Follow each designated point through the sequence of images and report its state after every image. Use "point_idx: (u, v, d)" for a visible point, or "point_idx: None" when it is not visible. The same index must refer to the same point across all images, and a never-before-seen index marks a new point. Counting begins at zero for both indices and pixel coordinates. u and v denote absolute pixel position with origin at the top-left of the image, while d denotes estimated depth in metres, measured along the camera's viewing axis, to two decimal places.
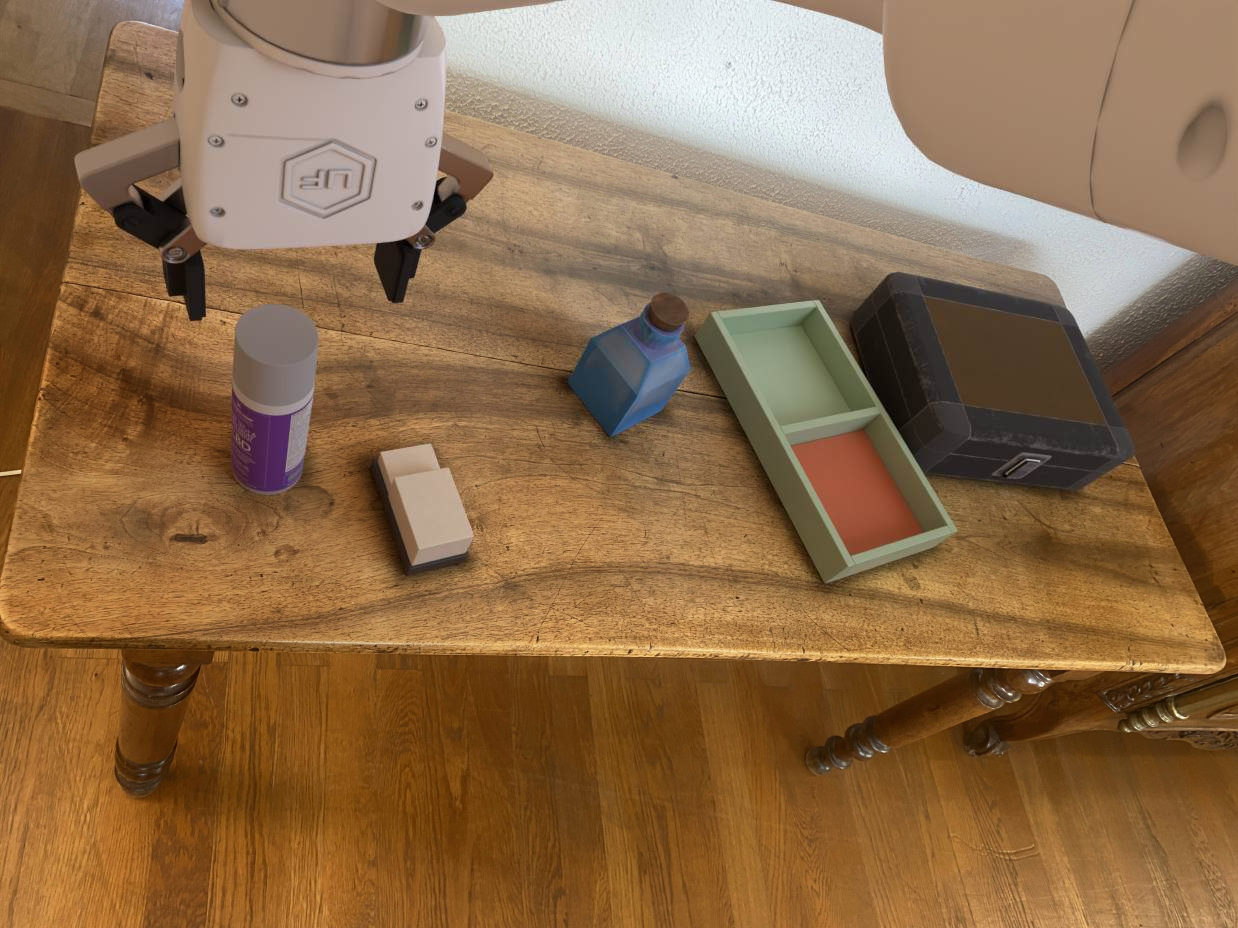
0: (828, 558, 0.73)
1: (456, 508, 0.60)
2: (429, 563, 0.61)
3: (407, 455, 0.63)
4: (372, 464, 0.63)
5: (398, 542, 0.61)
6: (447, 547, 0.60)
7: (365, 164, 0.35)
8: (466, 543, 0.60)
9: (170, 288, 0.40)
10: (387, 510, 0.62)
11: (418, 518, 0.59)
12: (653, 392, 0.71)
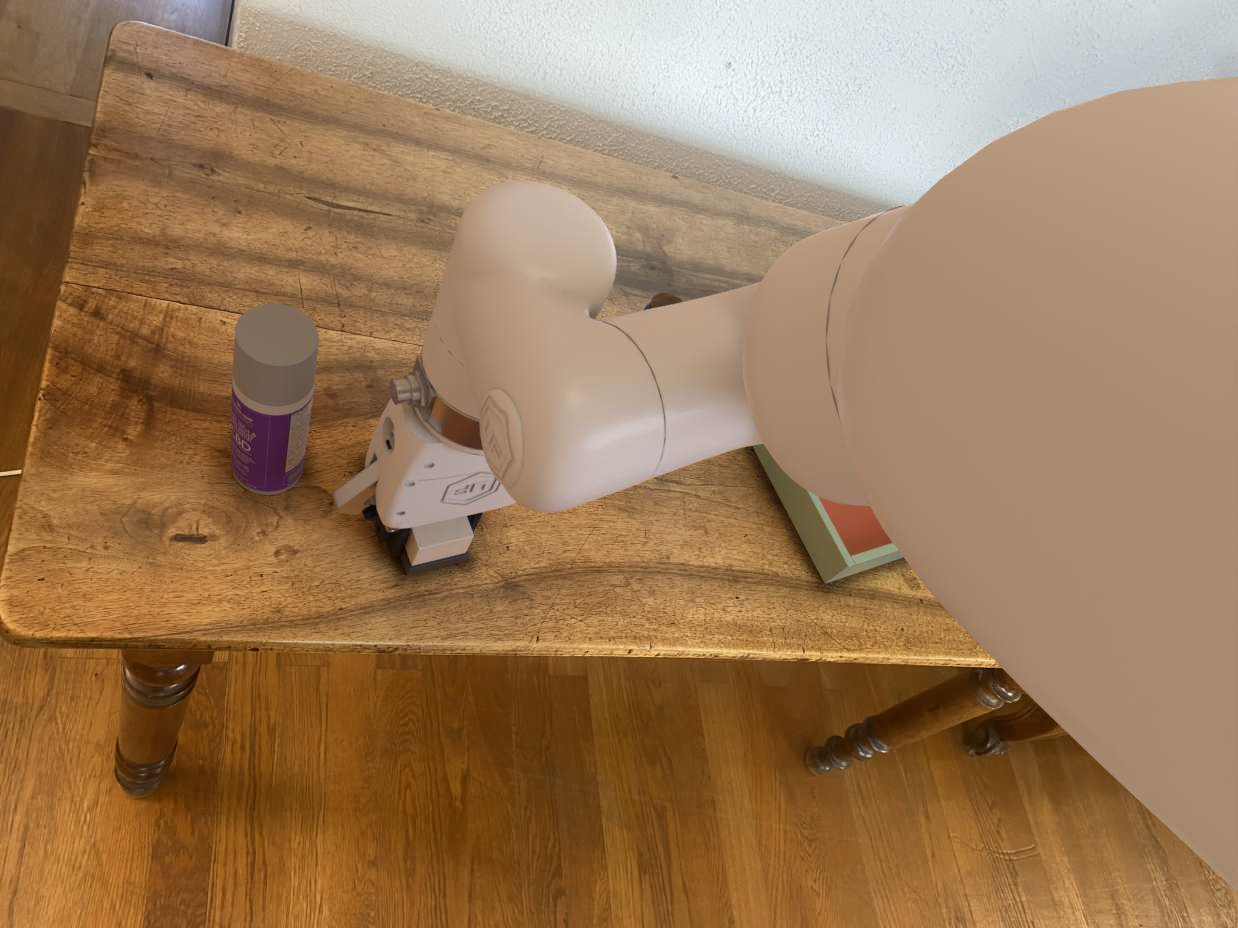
0: (828, 558, 0.73)
1: None
2: (429, 563, 0.61)
3: None
4: None
5: None
6: (447, 547, 0.60)
7: None
8: (466, 543, 0.60)
9: (383, 539, 0.59)
10: None
11: None
12: None
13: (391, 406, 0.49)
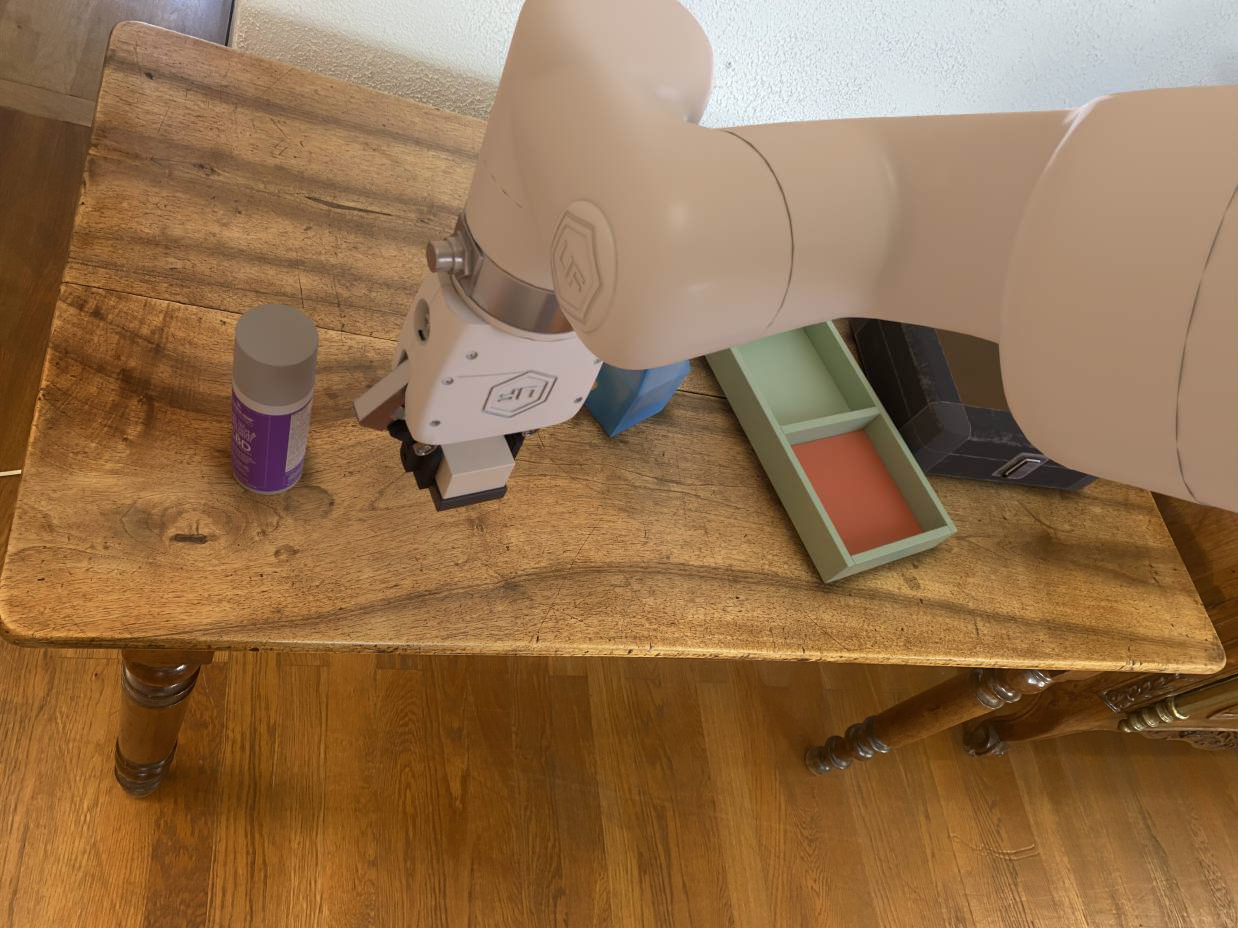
0: (828, 558, 0.73)
1: None
2: (463, 497, 0.52)
3: None
4: None
5: None
6: (484, 477, 0.51)
7: (548, 381, 0.45)
8: (506, 472, 0.52)
9: (410, 468, 0.51)
10: None
11: None
12: (653, 392, 0.71)
13: (425, 285, 0.40)
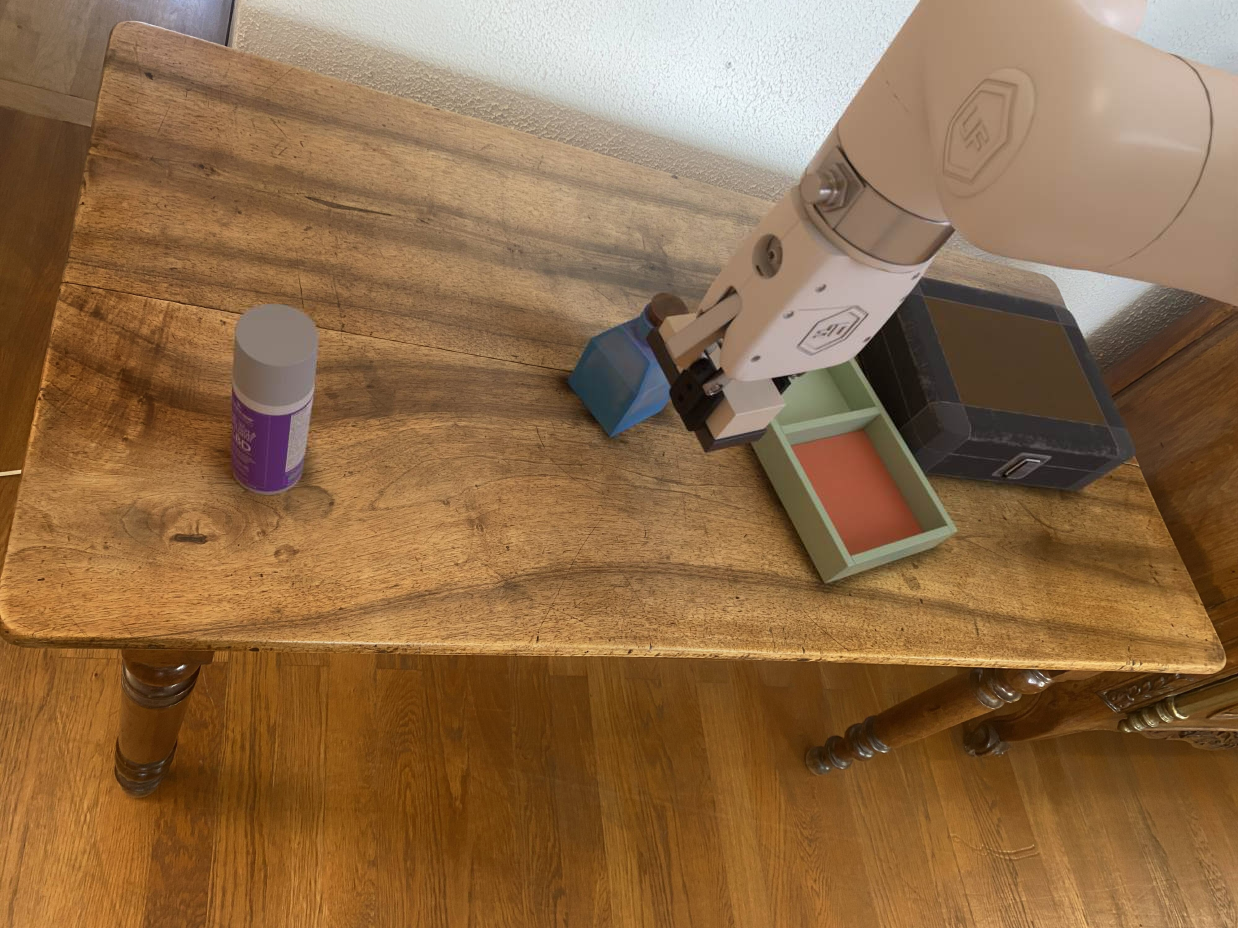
0: (828, 558, 0.73)
1: None
2: (731, 438, 0.54)
3: None
4: (651, 334, 0.57)
5: None
6: (757, 417, 0.53)
7: (860, 318, 0.46)
8: (774, 414, 0.54)
9: (687, 409, 0.53)
10: None
11: None
12: (653, 392, 0.71)
13: (774, 221, 0.42)
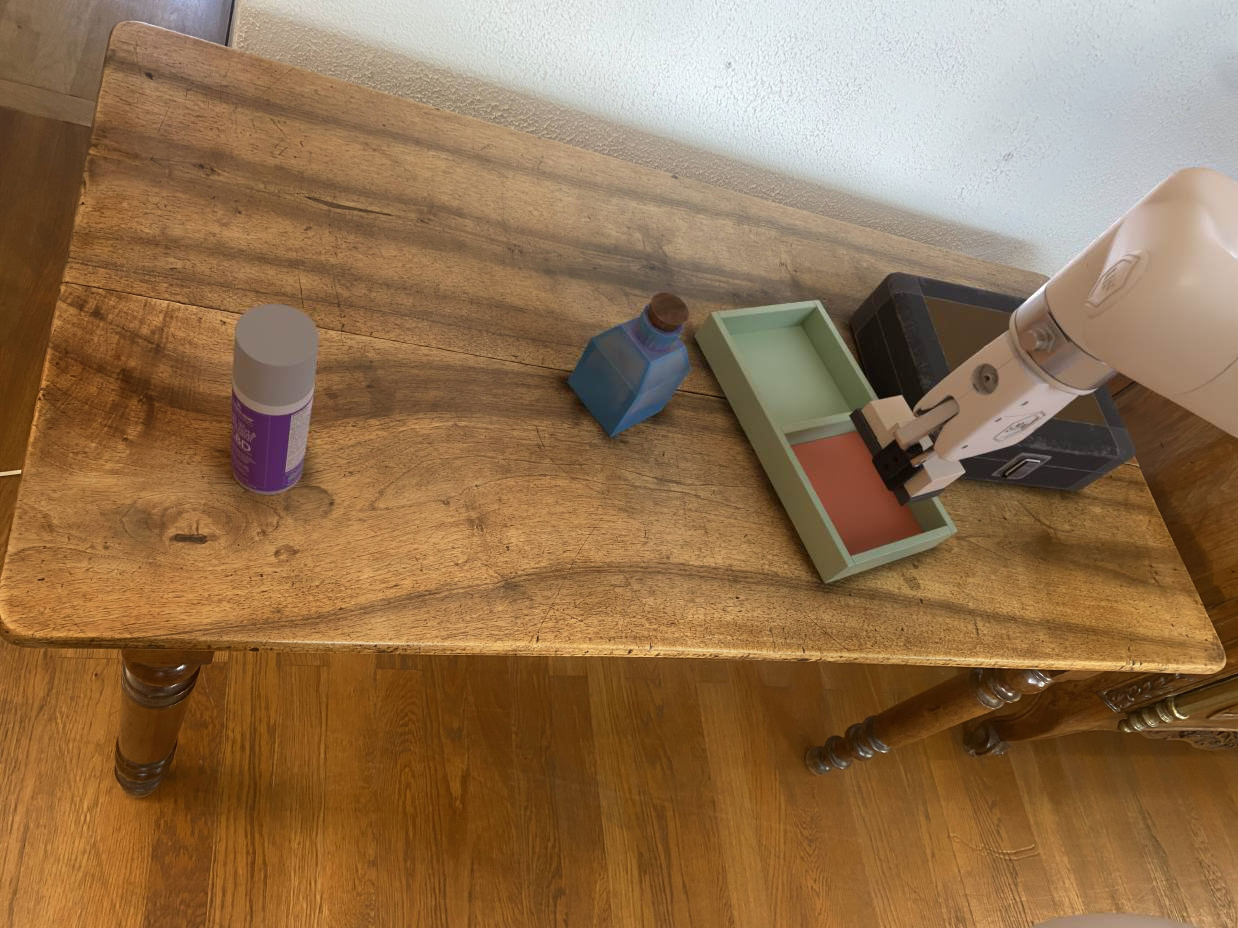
0: (828, 558, 0.73)
1: None
2: (921, 496, 0.71)
3: (889, 405, 0.73)
4: (855, 413, 0.74)
5: None
6: (944, 481, 0.70)
7: (1039, 417, 0.63)
8: (955, 478, 0.71)
9: (891, 475, 0.70)
10: (876, 452, 0.72)
11: None
12: (653, 392, 0.71)
13: (991, 355, 0.59)
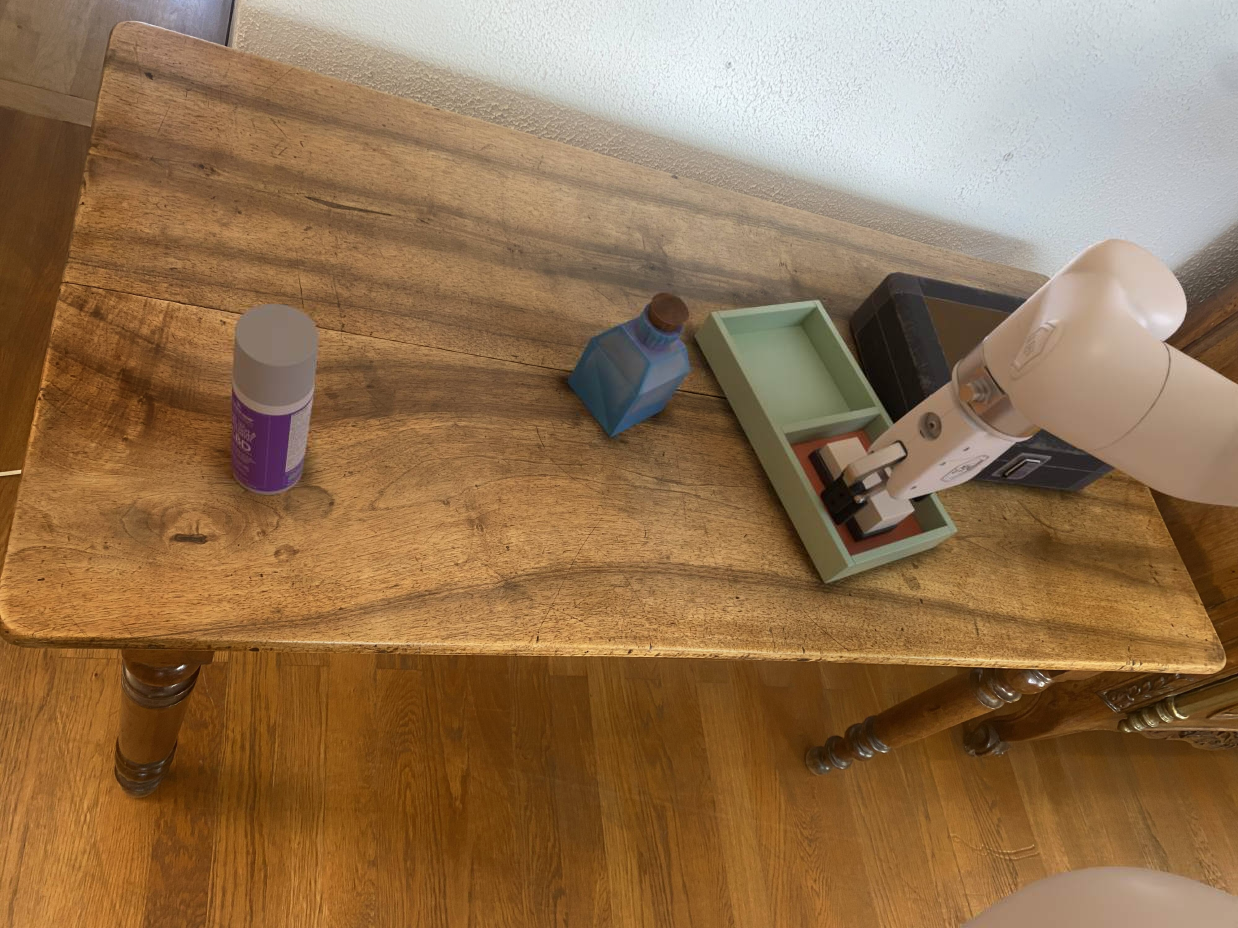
0: (828, 558, 0.73)
1: None
2: (874, 532, 0.76)
3: (845, 446, 0.78)
4: (813, 454, 0.79)
5: None
6: (894, 519, 0.75)
7: (983, 460, 0.68)
8: (905, 516, 0.76)
9: (837, 510, 0.72)
10: None
11: (875, 495, 0.75)
12: (653, 392, 0.71)
13: (935, 404, 0.64)
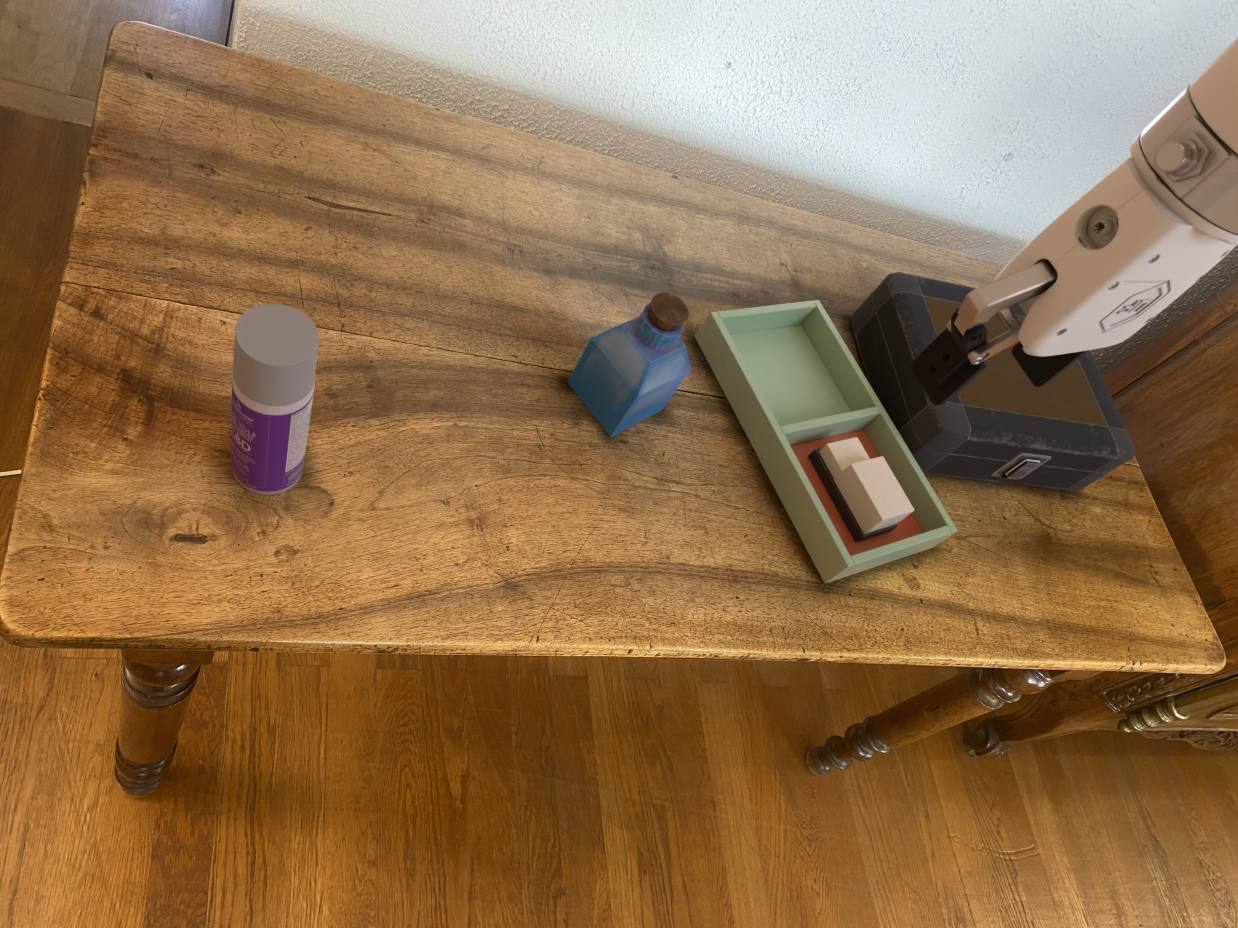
0: (828, 558, 0.73)
1: (897, 488, 0.76)
2: (874, 532, 0.76)
3: (845, 446, 0.78)
4: (813, 454, 0.79)
5: (848, 515, 0.77)
6: (894, 519, 0.75)
7: (1162, 294, 0.46)
8: (905, 516, 0.76)
9: (940, 381, 0.51)
10: (833, 490, 0.78)
11: (875, 495, 0.75)
12: (653, 392, 0.71)
13: (1106, 192, 0.42)
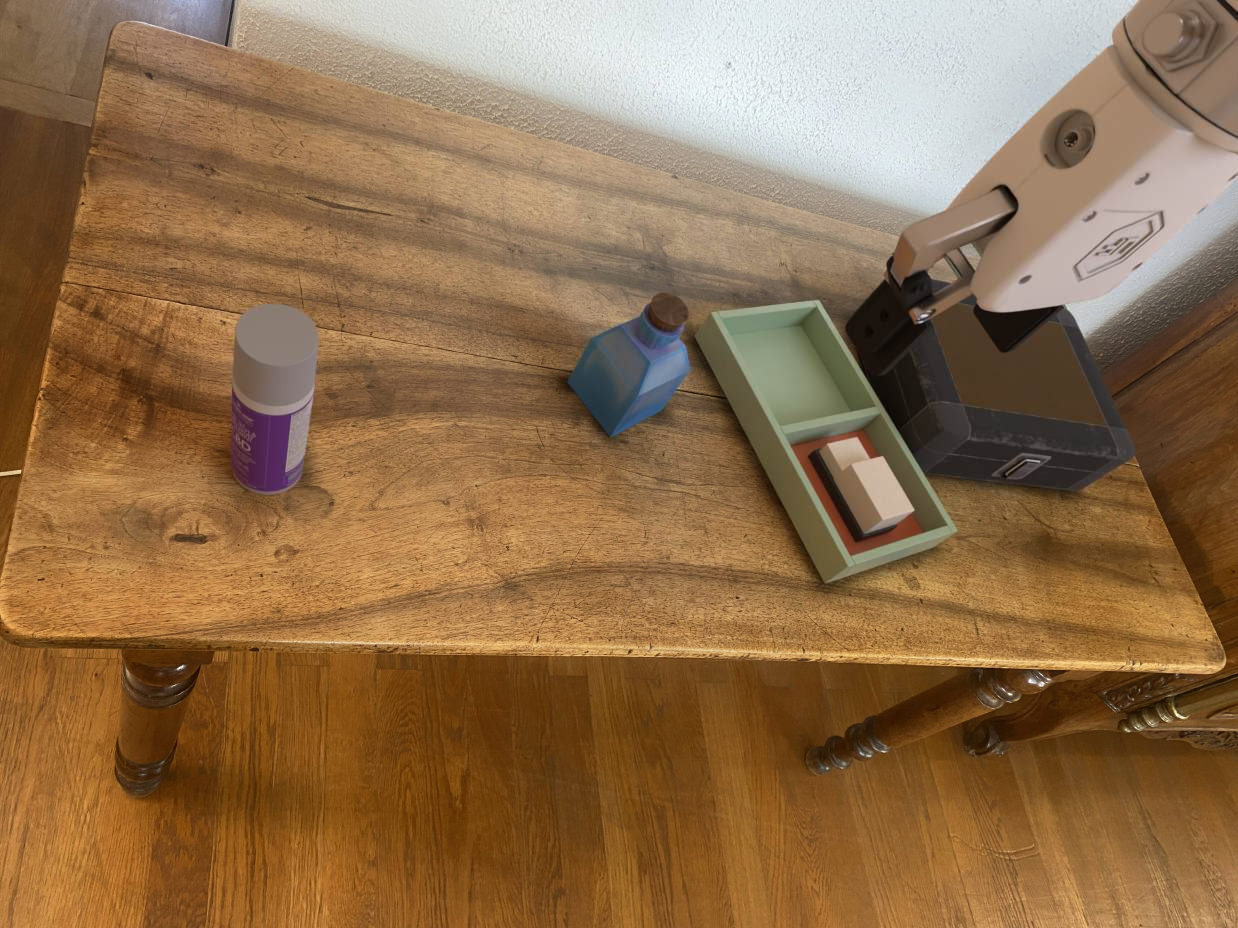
0: (828, 558, 0.73)
1: (897, 488, 0.76)
2: (874, 532, 0.76)
3: (845, 446, 0.78)
4: (813, 454, 0.79)
5: (848, 515, 0.77)
6: (894, 519, 0.75)
7: (1154, 231, 0.36)
8: (905, 516, 0.76)
9: (878, 345, 0.41)
10: (833, 490, 0.78)
11: (875, 495, 0.75)
12: (653, 392, 0.71)
13: (1080, 91, 0.32)
